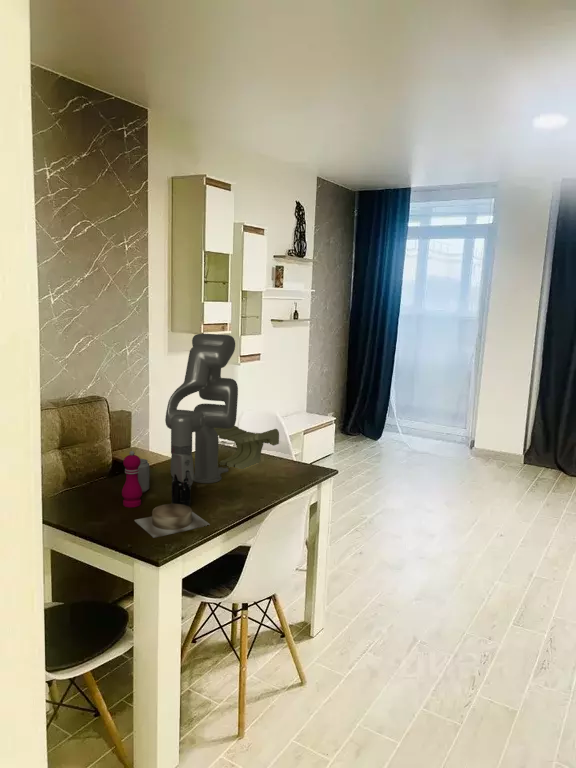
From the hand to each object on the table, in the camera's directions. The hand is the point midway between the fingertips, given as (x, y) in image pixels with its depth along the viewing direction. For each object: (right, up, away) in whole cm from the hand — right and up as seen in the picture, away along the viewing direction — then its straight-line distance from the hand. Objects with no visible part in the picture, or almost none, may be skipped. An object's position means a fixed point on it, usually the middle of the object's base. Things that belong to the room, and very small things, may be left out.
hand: (181, 496), depth 218 cm
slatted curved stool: (+17, +4, +54) cm, 57 cm away
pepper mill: (-18, -3, -1) cm, 18 cm away
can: (-19, -1, +14) cm, 23 cm away
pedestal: (0, -6, -16) cm, 18 cm away
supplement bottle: (0, -3, +1) cm, 3 cm away
